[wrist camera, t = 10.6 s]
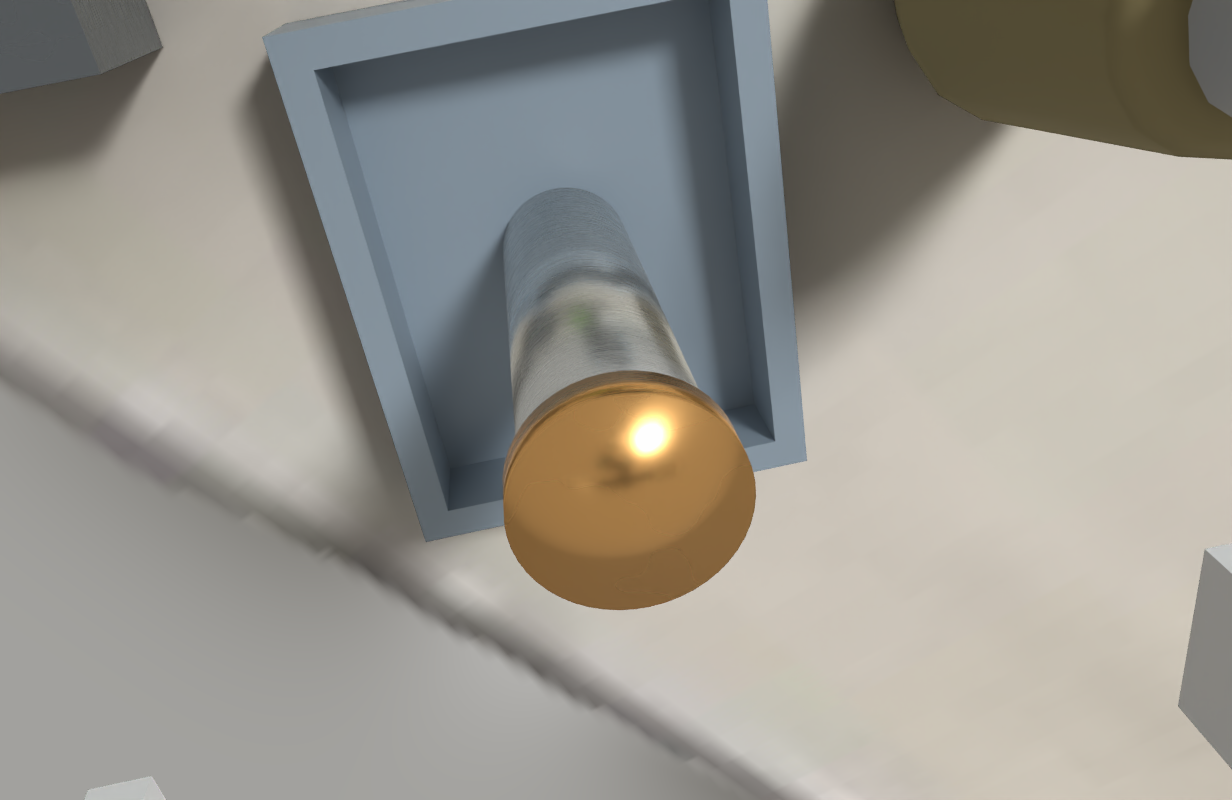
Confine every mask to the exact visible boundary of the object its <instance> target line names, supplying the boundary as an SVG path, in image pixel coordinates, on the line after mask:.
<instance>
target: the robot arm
mask: <svg viewBox="0 0 1232 800" xmlns="http://www.w3.org/2000/svg"><path fill="white" fill-rule="evenodd" d="M1178 707H1179V708H1180V709H1181V710H1182V711H1183V713H1184V714H1185V715H1186V716H1187V717H1188V718H1189V720H1190V721H1191V722H1192V723H1193V724H1194V726H1195V727H1196V728H1197V729H1198V730H1199V731H1200V733H1201V734H1202V735H1203V736H1204V737H1205V738H1206V740H1207V741H1208V742H1209V743H1210V744H1211V745H1212V747H1213V748H1214V749H1215V750H1216V751H1217V753H1218V754H1219V755H1220V756H1221V757H1222V758H1223V760H1224V761H1225V762H1226V763H1227V764H1228V765H1229V767H1230V768H1231V769H1232V543H1230V544H1226V545H1221V546H1216V547H1212V548H1207V549H1205V551H1204V557H1203V563H1202V568H1201V574H1200V580H1199V586H1198V592H1197V598H1196V604H1195V609H1194V615H1193V621H1192V627H1191V633H1190V639H1189V645H1188V650H1187V656H1186V662H1185V668H1184V674H1183V680H1182V685H1181V691H1180V697H1179V703H1178ZM84 800H166V799H165V797H164V795H163V794H162V792H161V790H160V788H159V787H158V785H157V784H156V782H155V780H154V779H153V777H152V776H149V777H144V778H139V779H135V780H130V781H126V782H121V783H116V784H111V785H107V786H102V787H98V788H93V789H89V790H88V791H87V794H86V796H85V798H84Z"/></svg>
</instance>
